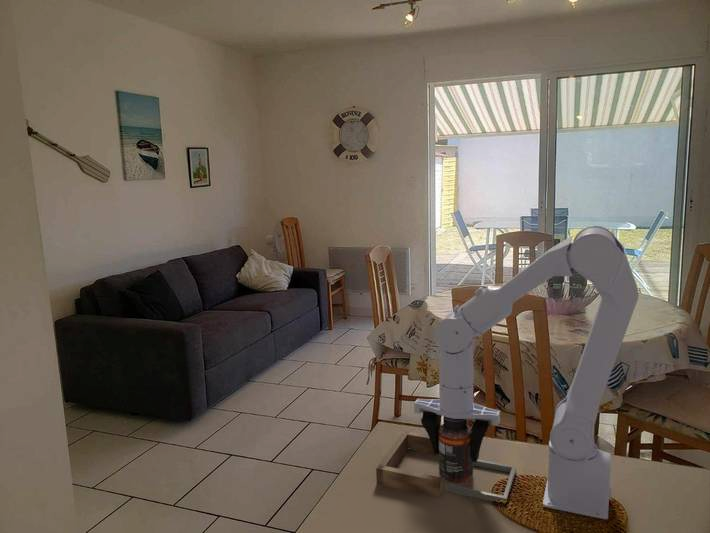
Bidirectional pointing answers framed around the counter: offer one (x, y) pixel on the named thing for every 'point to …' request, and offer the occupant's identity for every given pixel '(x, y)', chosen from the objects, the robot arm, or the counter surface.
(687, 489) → the counter surface
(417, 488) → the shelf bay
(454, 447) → the supplement bottle
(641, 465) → the counter surface
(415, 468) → the counter surface
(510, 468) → the slate bracket
